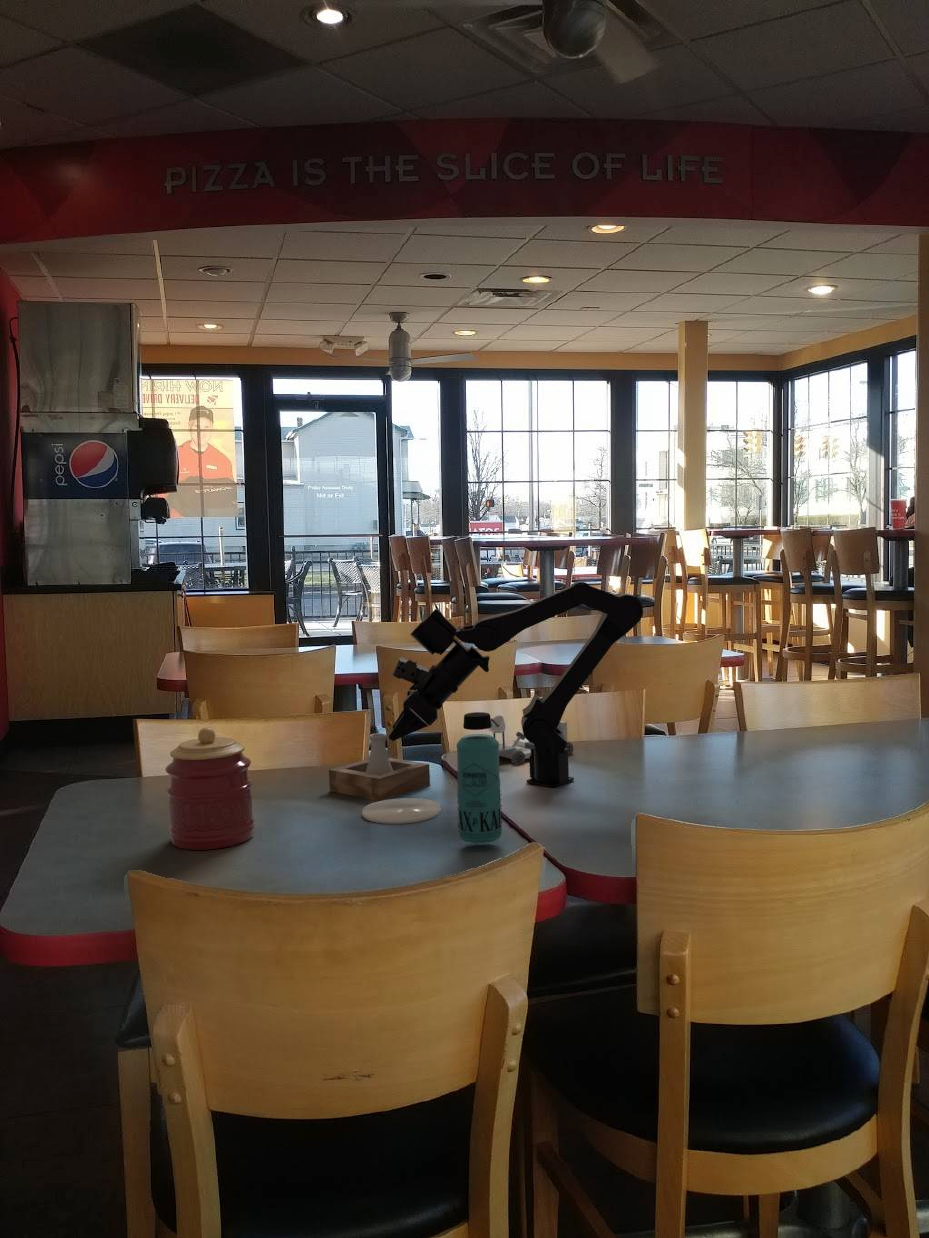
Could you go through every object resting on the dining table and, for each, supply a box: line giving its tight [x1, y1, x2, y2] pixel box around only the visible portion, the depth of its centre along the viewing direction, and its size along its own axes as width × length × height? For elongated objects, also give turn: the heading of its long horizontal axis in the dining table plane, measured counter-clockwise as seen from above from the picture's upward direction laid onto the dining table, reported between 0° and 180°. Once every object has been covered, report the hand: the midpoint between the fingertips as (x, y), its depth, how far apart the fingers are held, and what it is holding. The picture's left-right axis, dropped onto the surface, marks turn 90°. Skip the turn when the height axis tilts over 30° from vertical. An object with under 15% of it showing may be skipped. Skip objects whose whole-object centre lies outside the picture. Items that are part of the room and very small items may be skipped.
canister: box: [165, 727, 255, 851], centre depth 162 cm, size 13×13×18 cm
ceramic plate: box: [361, 797, 441, 825], centre depth 173 cm, size 13×13×1 cm
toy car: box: [487, 714, 574, 765], centre depth 213 cm, size 18×10×12 cm
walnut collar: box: [328, 757, 431, 802], centre depth 190 cm, size 13×13×4 cm
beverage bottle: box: [456, 711, 503, 844], centre depth 152 cm, size 6×7×20 cm
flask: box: [366, 732, 393, 775], centre depth 190 cm, size 7×7×10 cm
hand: (392, 734), depth 190 cm, fingers open, 9 cm apart
